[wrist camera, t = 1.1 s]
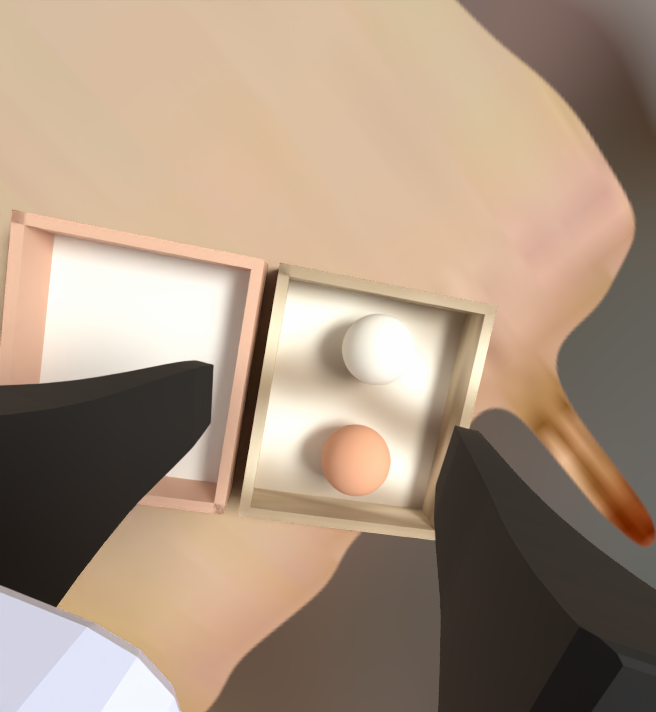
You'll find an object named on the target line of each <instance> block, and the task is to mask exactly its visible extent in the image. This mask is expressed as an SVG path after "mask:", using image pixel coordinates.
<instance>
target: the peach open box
mask: <svg viewBox="0 0 656 712" xmlns="http://www.w3.org/2000/svg"><path fill="white" fill-rule="evenodd" d="M267 269H268V264H267V263H266V261H265V260H264V259H259V258H254V257H249V256H244V255H239V254H234V253H229V252H224V251H218V250H213V249H208V248H203V247H198V246H193V245H188V244H183V243H178V242H173V241H168V240H163V239H158V238H153V237H148V236H143V235H138V234H133V233H128V232H123V231H117V230H112V229H107V228H102V227H97V226H92V225H87V224H82V223H77V222H72V221H67V220H62V219H57V218H52V217H47V216H42V215H37V214H32V213H27V212H22V211H16V210H12V218H11V230H10V241H9V252H8V264H7V275H6V287H5V298H4V309H3V321H2V332H1V344H0V385H20V384H40V383H51V382H61V381H71V380H79V379H86V378H93V377H99V376H105V375H111V374H117V373H122V372H128V371H133V370H138V369H143V368H149V367H154V366H159V365H164V364H169V363H175V362H181V361H190V360H197V361H201V362H205V363H209V364H213V365H214V369H213V390H212V411H211V423H210V425H209V426H208V428H207V429H206V431H205V432H204V433H203V435H202V436H201V438H200V439H199V440H198V441H197V443H196V444H195V445H194V447H193V448H192V449H191V450H190V451H189V452H188V453H187V454H186V455H185V456H184V457H183V458H182V459H181V460H180V461H179V462H178V463H177V464H176V465H175V466H174V467H173V468H172V469H171V470H170V471H169V472H168V473H167V474H166V475H165V476H164V477H163V478H162V479H161V480H160V481H159V482H158V483H157V484H156V485H155V486H154V487H153V488H152V489H151V490H150V491H149V492H148V493H147V494H146V495H145V496H144V497H143V498H142V499H141V500H140V501H139V502H138V503H137V504H140V505H148V506H156V507H164V508H173V509H181V510H189V511H198V512H206V513H214V514H222V515H223V514H224V511H225V508H226V505H227V502H228V499H229V496H230V493H231V489H232V482H233V476H234V470H235V464H236V458H237V452H238V446H239V440H240V434H241V427H242V421H243V415H244V409H245V403H246V397H247V391H248V385H249V379H250V372H251V366H252V360H253V354H254V348H255V342H256V336H257V330H258V324H259V317H260V311H261V305H262V299H263V293H264V287H265V281H266V275H267Z"/></svg>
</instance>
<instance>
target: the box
mask: <svg viewBox="0 0 656 712" xmlns="http://www.w3.org/2000/svg"><path fill="white" fill-rule="evenodd" d="M496 311H497V306H496V305H491V304H486V303H481V302H476V301H471V300H466V299H461V298H456V297H451V296H446V295H441V294H436V293H431V292H426V291H420V290H415V289H410V288H405V287H400V286H395V285H390V284H385V283H380V282H375V281H370V280H365V279H360V278H355V277H350V276H345V275H340V274H335V273H330V272H325V271H319V270H314V269H309V268H304V267H299V266H294V265H289V264H284V263H280V266H279V272H278V278H277V284H276V290H275V296H274V302H273V308H272V314H271V320H270V326H269V332H268V338H267V344H266V350H265V356H264V362H263V368H262V374H261V380H260V386H259V392H258V398H257V404H256V410H255V416H254V422H253V428H252V434H251V440H250V446H249V452H248V458H247V464H246V470H245V475H244V481H243V487H242V493H241V499H240V505H239V511H238V516H239V517H247V518H255V519H264V520H272V521H280V522H289V523H297V524H305V525H313V526H322V527H330V528H338V529H346V530H355V531H363V532H371V533H380V534H389V535H396V536H404V537H413V538H421V539H429V540H435V528H434V504H435V488H436V483H437V480H438V477H439V474H440V470H441V467H442V464H443V461H444V458H445V455H446V452H447V448H448V445H449V442H450V439H451V436H452V433H453V430H454V426H455V425H456V426H460V427H464V428H468V429H469V427H470V422H471V418H472V414H473V409H474V405H475V401H476V397H477V392H478V388H479V384H480V379H481V375H482V371H483V367H484V362H485V358H486V354H487V349H488V345H489V341H490V337H491V332H492V328H493V324H494V319H495V315H496ZM370 314H386V315H390V316H392V317H395V318H396V319H398V320H400V321H401V322H402V323H403V324H404V325H405V326H406V327H407V329H408V330H409V332H410V333H411V336H412V338H413V342H414V357H413V361H412V363H411V365H410V367H409V369H408V370H407V372H406V373H405V374H404V375H403V376H402V377H401V378H399V379H398V380H396V381H394V382H392V383H389V384H386V385H371V384H367V383H364V382H362V381H360V380H358V379H357V378H356V377H354V376H353V375H352V374H351V373H350V371H349V370H348V368H347V367H346V365H345V362H344V359H343V355H342V344H343V339H344V337H345V334H346V332H347V331H348V329H349V328H350V326H351V325H352V324H353V323H354V322H356V321H357V320H358V319H360V318H362V317H364V316H367V315H370ZM354 424H357V425H364V426H367V427H369V428H371V429H373V430H375V431H376V432H377V433H378V434H380V435H381V437H382V438H383V439H384V440H385V442H386V444H387V446H388V448H389V452H390V458H391V465H390V470H389V474H388V476H387V478H386V480H385V481H384V483H383V484H382V485H381V486H380V487H379V488H378V489H377V490H375V491H374V492H372V493H370V494H367V495H364V496H350V495H346V494H343V493H341V492H339V491H338V490H336V489H335V488H334V487H333V486H332V485H331V484H330V483H329V482H328V480H327V479H326V477H325V475H324V473H323V469H322V464H321V455H322V450H323V447H324V444H325V442H326V441H327V439H328V438H329V436H330V435H331V434H332V433H334V432H335V431H336V430H338V429H339V428H341V427H344V426H347V425H354Z"/></svg>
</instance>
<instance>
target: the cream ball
mask: <svg viewBox="0 0 656 712" xmlns="http://www.w3.org/2000/svg"><path fill="white" fill-rule="evenodd" d="M342 355H343V359H344V362H345V365H346V367H347V368H348V370H349V371H350V373H351V374H352V375H353V376H354V377H356V378H357V379H358V380H360V381H362V382H364V383H367V384H371V385H386V384H389V383H392V382H394V381H396V380H398V379H399V378H401V377H402V376H403V375H404V374H405V373H406V372H407V370H408V369H409V367H410V365H411V363H412V361H413V357H414V342H413V338H412V336H411V333H410V332H409V330H408V329H407V327H406V326H405V325H404V324H403V323H402V322H401V321H400V320H398V319H396V318H395V317H392V316H390V315H386V314H370V315H367V316H364V317H362V318H360V319H358V320H357V321H356V322H354V323H353V324H352V325H351V326H350V328H349V329H348V331H347V332H346V334H345V337H344V339H343V344H342Z"/></svg>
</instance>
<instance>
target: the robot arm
mask: <svg viewBox="0 0 656 712" xmlns="http://www.w3.org/2000/svg"><path fill="white" fill-rule="evenodd" d="M213 369H214V365H213V364H209V363H205V362H201V361H197V360H190V361H181V362H175V363H169V364H164V365H159V366H154V367H149V368H143V369H138V370H133V371H128V372H122V373H117V374H111V375H105V376H99V377H93V378H86V379H79V380H71V381H61V382H51V383H40V384H20V385H0V712H182V711H181V708H180V705H179V702H178V699H177V696H176V693H175V690H174V687H173V685H172V684H171V683H170V682H169V680H168V679H167V678H166V677H165V676H164V675H163V674H162V673H161V672H160V671H159V669H158V668H157V667H156V666H155V665H154V664H153V663H152V662H151V661H150V660H149V658H148V657H147V656H146V655H145V654H144V653H143V652H142V651H141V650H140V649H139V648H137V647H135V646H134V645H132V644H130V643H128V642H127V641H125V640H123V639H122V638H120V637H118V636H117V635H115V634H113V633H112V632H110V631H108V630H107V629H105V628H103V627H101V626H100V625H98V624H96V623H94V622H91V621H89V620H86V619H84V618H81V617H79V616H76V615H74V614H71V613H69V612H66V611H64V610H61V609H59V608H56V607H57V605H58V604H59V602H60V601H61V600H62V598H63V597H64V596H65V594H66V593H67V591H68V590H69V589H70V587H71V586H72V584H73V583H74V582H75V580H76V579H77V577H78V576H79V575H80V574H81V572H82V571H83V570H84V568H85V567H86V566H87V564H88V563H89V562H90V561H91V559H92V558H93V557H94V555H95V554H96V553H97V551H98V550H99V549H100V548H101V546H102V545H103V544H104V542H105V541H106V540H107V539H108V537H109V536H110V535H111V534H112V533H113V531H114V530H115V529H116V528H117V526H118V525H119V524H120V523H121V522H122V520H123V519H124V518H125V517H126V515H127V514H128V513H129V512H130V511H131V510H132V509H133V508H134V507H135V505H136V504H137V503H138V502H139V501H140V500H141V499H142V498H143V497H144V496H145V495H146V494H147V493H148V492H149V491H150V490H151V489H152V488H153V487H154V486H155V485H156V484H157V483H158V482H159V481H160V480H161V479H162V478H163V477H164V476H165V475H166V474H167V473H168V472H169V471H170V470H171V469H172V468H173V467H174V466H175V465H176V464H177V463H178V462H179V461H180V460H181V459H182V458H183V457H184V456H185V455H186V454H187V453H188V452H189V451H190V450H191V449H192V448H193V447H194V445H195V444H196V443H197V441H198V440H199V439H200V438H201V436H202V435H203V433H204V432H205V431H206V429H207V428H208V426H209V425H210V423H211V411H212V390H213ZM434 528H435V541H436V553H437V566H438V578H439V591H440V608H441V638H440V642H441V643H440V679H439V707H438V708H439V709H438V712H656V590H655V589H654V588H652V587H651V586H649V585H648V584H646V583H645V582H643V581H642V580H641V579H639V578H638V577H636V576H635V575H633V574H632V573H631V572H629V571H628V570H627V569H625V568H624V567H623V566H621V565H620V564H618V563H617V562H615V561H614V560H613V559H612V558H610V557H609V556H608V555H606V554H605V553H603V552H602V551H601V550H599V549H598V548H597V547H596V546H594V545H593V544H592V543H591V542H589V541H588V540H587V539H586V538H584V537H583V536H582V535H581V534H580V533H578V532H577V531H576V530H575V529H574V528H572V527H571V526H570V525H569V524H568V523H566V521H564V520H563V519H562V518H561V517H559V515H557V514H556V513H555V512H554V511H553V510H552V509H551V508H550V507H549V506H548V505H547V504H546V503H545V502H544V501H543V500H541V498H540V497H539V496H538V495H537V494H535V493H534V492H533V491H532V490H531V489H530V488H529V487H528V485H527V484H526V483H525V482H524V481H523V480H522V479H521V478H520V477H519V476H518V475H517V474H516V473H515V472H514V471H513V469H512V468H511V467H510V466H509V465H508V464H507V463H506V462H505V460H504V459H503V458H502V457H501V456H500V455H499V454H498V453H497V451H496V450H495V449H494V448H493V447H492V446H491V444H490V443H489V442H488V441H487V440H486V439H485V438H484V437H483V435H482V434H481V433H479V432H478V431H476V430H472V429H468V428H464V427H460V426H456V425H455V426H454V430H453V433H452V436H451V439H450V442H449V445H448V448H447V452H446V455H445V458H444V461H443V464H442V467H441V470H440V474H439V477H438V480H437V483H436V488H435V504H434Z"/></svg>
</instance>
